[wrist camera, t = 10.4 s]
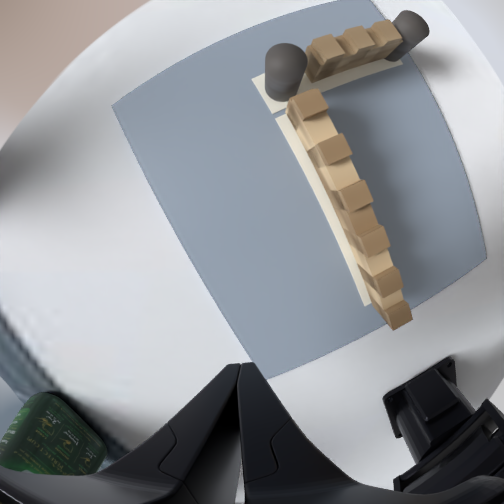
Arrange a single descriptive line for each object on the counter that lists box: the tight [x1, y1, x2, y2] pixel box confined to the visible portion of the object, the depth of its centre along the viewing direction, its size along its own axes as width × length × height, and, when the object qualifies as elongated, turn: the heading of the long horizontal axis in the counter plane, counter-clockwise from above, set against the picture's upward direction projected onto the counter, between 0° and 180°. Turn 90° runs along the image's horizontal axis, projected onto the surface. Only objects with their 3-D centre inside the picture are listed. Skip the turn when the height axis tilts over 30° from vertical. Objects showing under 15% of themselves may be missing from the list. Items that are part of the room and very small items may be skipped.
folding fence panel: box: [285, 88, 413, 330], centre depth 13 cm, size 12×1×3 cm, turn 27°
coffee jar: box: [0, 392, 107, 504], centre depth 12 cm, size 10×8×19 cm
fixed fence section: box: [265, 10, 429, 102], centre depth 12 cm, size 2×9×4 cm, turn 117°
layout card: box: [112, 0, 487, 380], centre depth 15 cm, size 20×18×1 cm
